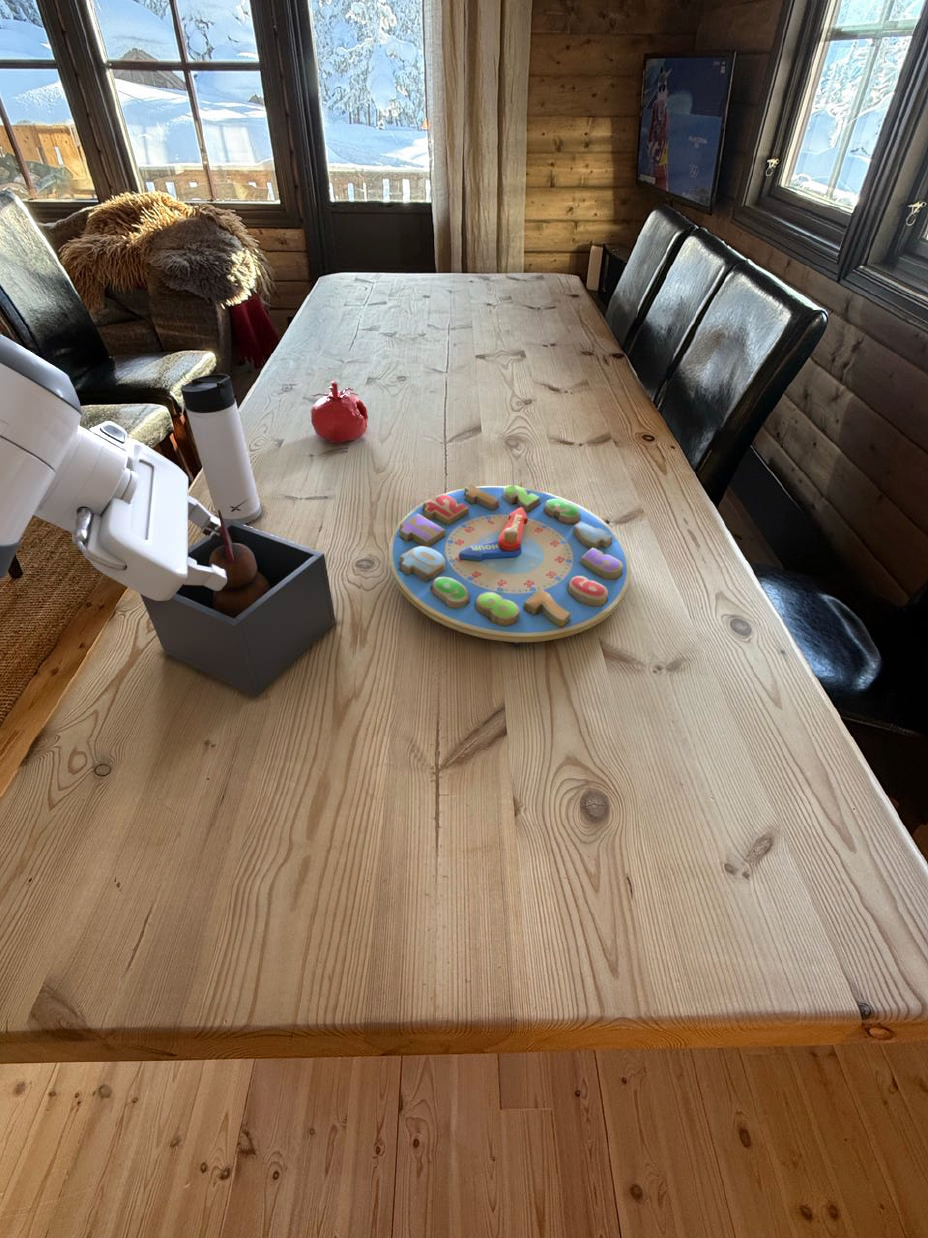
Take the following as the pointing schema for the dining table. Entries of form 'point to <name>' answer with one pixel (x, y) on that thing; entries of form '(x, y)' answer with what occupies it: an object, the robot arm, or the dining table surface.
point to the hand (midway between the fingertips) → (222, 555)
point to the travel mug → (222, 447)
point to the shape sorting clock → (509, 563)
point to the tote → (249, 613)
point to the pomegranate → (339, 416)
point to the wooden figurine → (236, 577)
